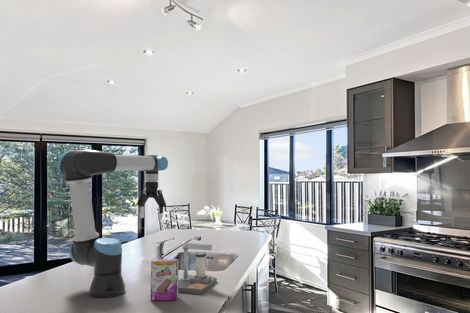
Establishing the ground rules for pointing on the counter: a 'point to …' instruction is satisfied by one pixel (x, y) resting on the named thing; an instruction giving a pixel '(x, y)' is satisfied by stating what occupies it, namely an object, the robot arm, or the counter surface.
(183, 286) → the grey stand
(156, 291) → the candy bar box
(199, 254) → the clear cream cylinder
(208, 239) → the counter surface
